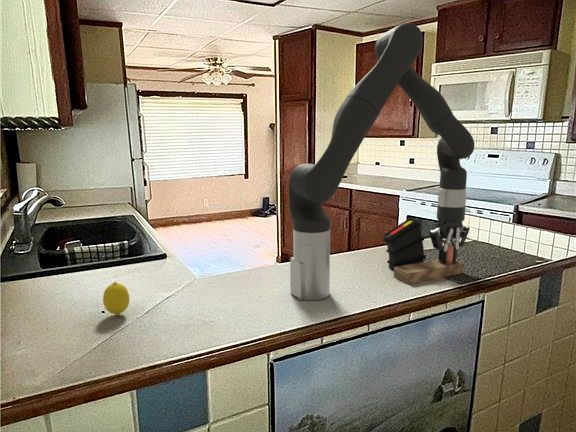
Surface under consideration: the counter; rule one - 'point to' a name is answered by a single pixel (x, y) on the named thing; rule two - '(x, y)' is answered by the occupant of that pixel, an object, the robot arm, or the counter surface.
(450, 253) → the pink cylinder
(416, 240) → the magazine
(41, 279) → the counter surface
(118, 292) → the lemon
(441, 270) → the joist
